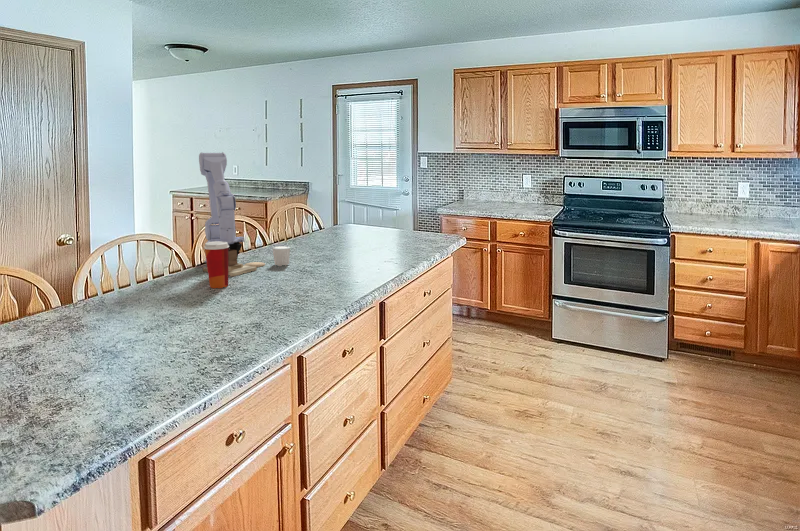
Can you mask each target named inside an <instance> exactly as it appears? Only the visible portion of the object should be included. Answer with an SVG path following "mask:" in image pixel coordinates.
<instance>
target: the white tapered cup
mask: <svg viewBox="0 0 800 531" xmlns="http://www.w3.org/2000/svg"><path fill="white" fill-rule="evenodd" d="M272 253H273V260H274V266H276V265H278V266H277V267H283V266H282V265H285V266H289V265H290V253H291V247H290V246H286V245H280V246H279V245H277V246H273V247H272ZM288 264H289V265H288Z"/></svg>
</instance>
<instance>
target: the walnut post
mask: <svg viewBox="0 0 800 531" xmlns="http://www.w3.org/2000/svg"><path fill="white" fill-rule="evenodd" d="M237 263H238V258H237V250H234V249H229V251H228V266H229V267H230V266H234V265H237Z"/></svg>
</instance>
